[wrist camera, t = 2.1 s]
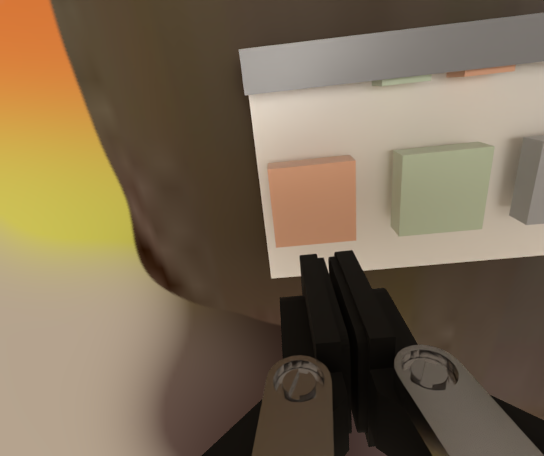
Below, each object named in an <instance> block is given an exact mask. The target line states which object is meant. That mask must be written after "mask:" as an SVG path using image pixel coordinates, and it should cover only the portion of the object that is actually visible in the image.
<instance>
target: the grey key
mask: <svg viewBox="0 0 544 456" xmlns="http://www.w3.org/2000/svg"><path fill="white" fill-rule="evenodd" d="M509 216H511V217H513V218H515V219H516V220H518V221H520V222H522V223H523V224H525V225H533V224H544V135H537V136H527V137H523V143H522V148H521V154H520V159H519V164H518V170H517V175H516V181H515V186H514V191H513V197H512V202H511V208H510V213H509Z"/></svg>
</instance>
